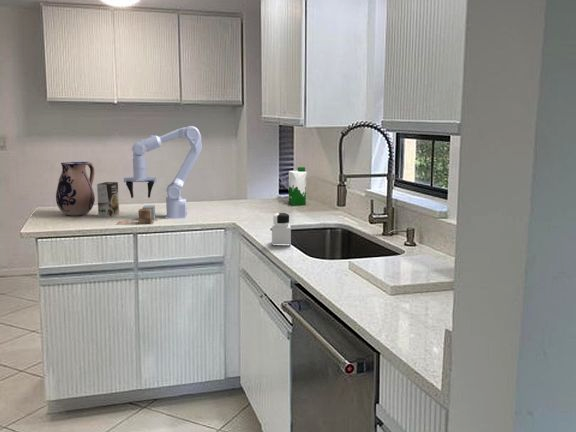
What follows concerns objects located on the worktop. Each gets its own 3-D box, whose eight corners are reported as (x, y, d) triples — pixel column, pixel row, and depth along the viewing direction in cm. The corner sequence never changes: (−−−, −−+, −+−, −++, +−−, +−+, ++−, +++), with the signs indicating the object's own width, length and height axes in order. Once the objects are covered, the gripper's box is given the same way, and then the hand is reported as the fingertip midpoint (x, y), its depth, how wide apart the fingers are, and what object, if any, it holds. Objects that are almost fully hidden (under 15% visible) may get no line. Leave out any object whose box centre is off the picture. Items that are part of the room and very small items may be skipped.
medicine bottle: (290, 241, 232) (290, 211, 229) (290, 246, 225) (291, 215, 222) (271, 241, 231) (271, 211, 229) (271, 246, 224) (272, 215, 222)
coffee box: (110, 218, 276) (109, 184, 272) (98, 218, 277) (96, 183, 274) (120, 215, 284) (118, 181, 281) (107, 214, 286) (106, 181, 283)
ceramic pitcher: (49, 216, 280) (45, 163, 275) (77, 209, 299) (74, 159, 295) (80, 218, 274) (77, 165, 270) (107, 211, 294) (104, 161, 290)
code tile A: (137, 221, 269) (137, 220, 269) (134, 225, 261) (134, 224, 261) (119, 221, 268) (119, 220, 268) (115, 225, 261) (115, 224, 261)
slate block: (155, 218, 276) (154, 205, 275) (154, 220, 271) (153, 207, 270) (144, 218, 275) (144, 205, 274) (142, 220, 270) (142, 207, 269)
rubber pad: (154, 221, 268) (154, 221, 268) (152, 225, 262) (152, 224, 262) (138, 222, 268) (138, 221, 268) (136, 225, 261) (136, 224, 261)
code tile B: (159, 218, 277) (159, 217, 277) (156, 221, 270) (156, 220, 269) (141, 218, 277) (141, 217, 277) (139, 221, 269) (139, 220, 269)
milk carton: (307, 205, 315) (308, 168, 311) (291, 206, 312) (291, 168, 308) (302, 203, 323) (302, 166, 319) (286, 203, 320) (286, 166, 317)
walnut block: (151, 221, 267) (151, 208, 266) (150, 223, 262) (149, 210, 261) (140, 221, 267) (140, 208, 266) (138, 224, 262) (138, 210, 261)
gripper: (121, 169, 267) (123, 199, 270) (154, 169, 269) (155, 198, 271) (124, 167, 274) (125, 196, 277) (156, 167, 275) (157, 196, 278)
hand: (140, 197), depth 274 cm, fingers open, 7 cm apart
